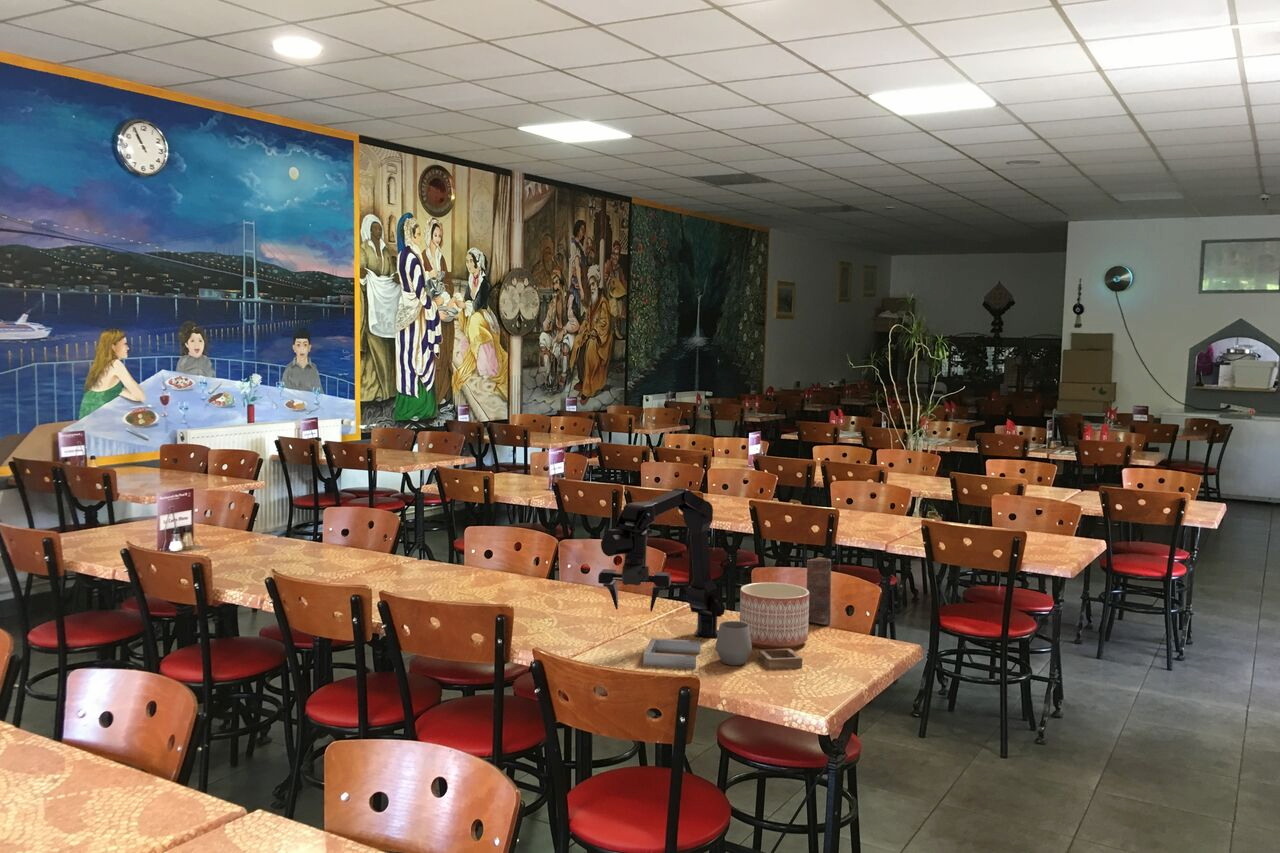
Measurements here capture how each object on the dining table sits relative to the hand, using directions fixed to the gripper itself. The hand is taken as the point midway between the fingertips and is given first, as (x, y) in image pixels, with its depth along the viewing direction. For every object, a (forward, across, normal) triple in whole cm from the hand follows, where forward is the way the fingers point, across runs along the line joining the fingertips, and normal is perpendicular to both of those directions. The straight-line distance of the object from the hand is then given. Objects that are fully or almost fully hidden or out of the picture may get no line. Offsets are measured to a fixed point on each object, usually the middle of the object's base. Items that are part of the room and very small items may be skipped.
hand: (633, 610), depth 263 cm
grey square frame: (+12, +11, 0) cm, 16 cm away
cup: (+13, +27, 0) cm, 29 cm away
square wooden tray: (+12, +39, +2) cm, 41 cm away
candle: (+12, +51, +45) cm, 69 cm away
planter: (+12, +37, +22) cm, 45 cm away
